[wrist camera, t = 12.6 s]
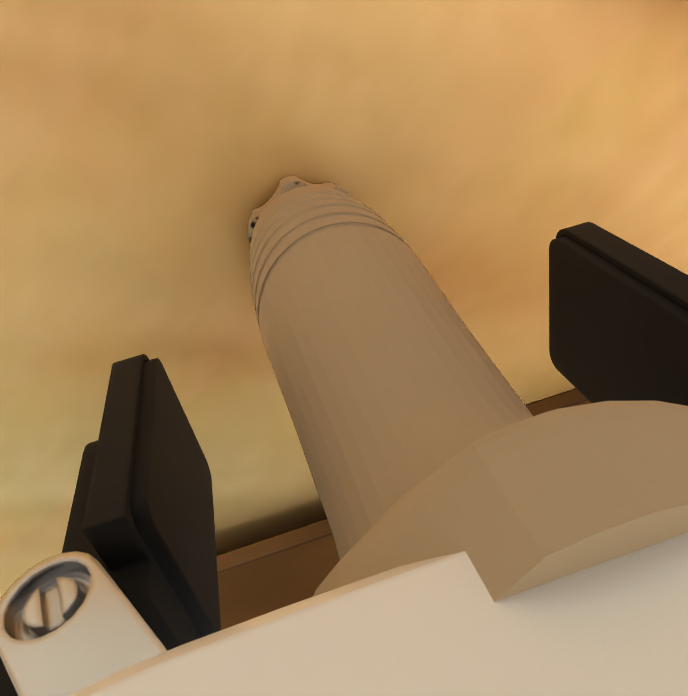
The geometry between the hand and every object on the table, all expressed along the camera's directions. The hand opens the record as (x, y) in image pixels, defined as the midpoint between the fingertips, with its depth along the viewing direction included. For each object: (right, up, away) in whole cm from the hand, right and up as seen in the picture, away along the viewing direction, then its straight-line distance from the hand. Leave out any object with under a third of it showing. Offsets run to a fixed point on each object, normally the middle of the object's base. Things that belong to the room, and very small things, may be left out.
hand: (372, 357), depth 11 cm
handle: (-2, +4, +7) cm, 8 cm away
